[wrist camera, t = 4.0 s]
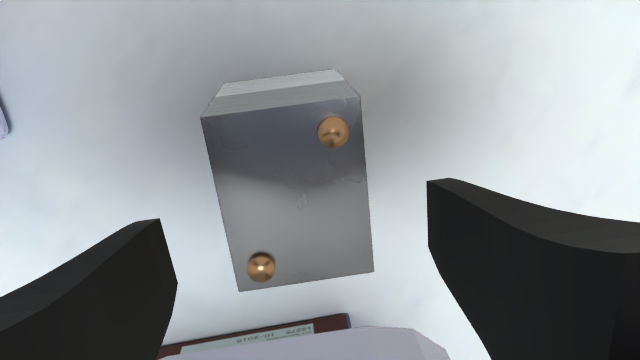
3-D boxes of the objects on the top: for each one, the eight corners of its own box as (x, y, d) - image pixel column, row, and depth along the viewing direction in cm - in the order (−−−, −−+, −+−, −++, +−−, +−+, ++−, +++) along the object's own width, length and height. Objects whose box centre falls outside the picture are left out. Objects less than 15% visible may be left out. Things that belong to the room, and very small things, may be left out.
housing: (249, 213, 20) (238, 297, 14) (224, 83, 18) (198, 119, 12) (347, 199, 20) (376, 277, 15) (334, 68, 18) (361, 98, 12)
